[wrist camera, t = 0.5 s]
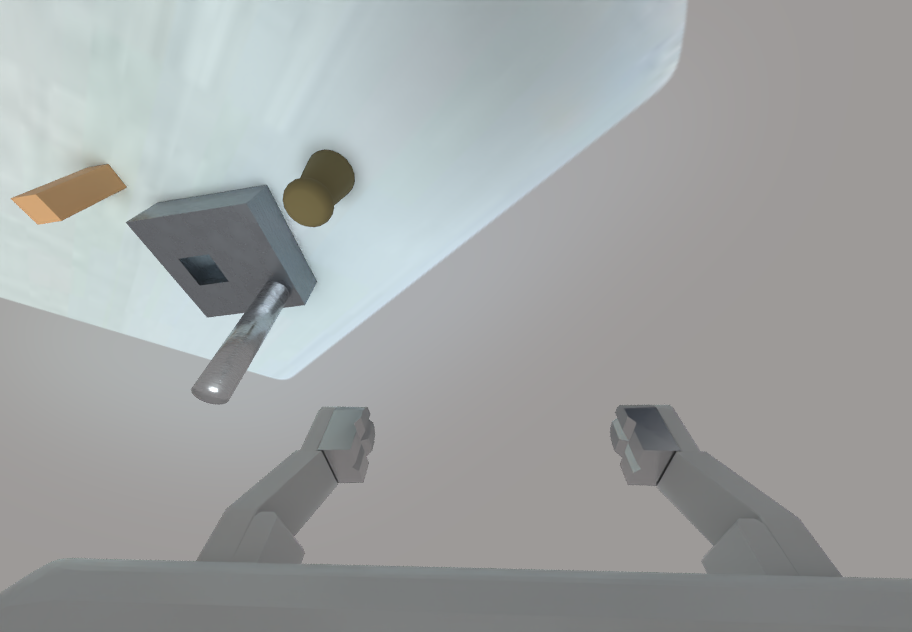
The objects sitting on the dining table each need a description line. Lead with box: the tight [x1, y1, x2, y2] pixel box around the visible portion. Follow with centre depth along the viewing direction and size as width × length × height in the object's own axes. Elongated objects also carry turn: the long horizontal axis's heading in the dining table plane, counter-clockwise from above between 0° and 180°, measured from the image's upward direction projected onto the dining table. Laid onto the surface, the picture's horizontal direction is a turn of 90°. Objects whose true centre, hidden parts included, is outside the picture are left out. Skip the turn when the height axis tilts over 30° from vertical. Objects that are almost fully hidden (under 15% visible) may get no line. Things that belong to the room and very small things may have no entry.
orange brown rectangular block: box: [11, 164, 127, 224], centre depth 40 cm, size 3×3×10 cm
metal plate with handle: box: [126, 185, 317, 404], centre depth 42 cm, size 16×16×24 cm
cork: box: [283, 150, 355, 227], centre depth 40 cm, size 6×6×11 cm
